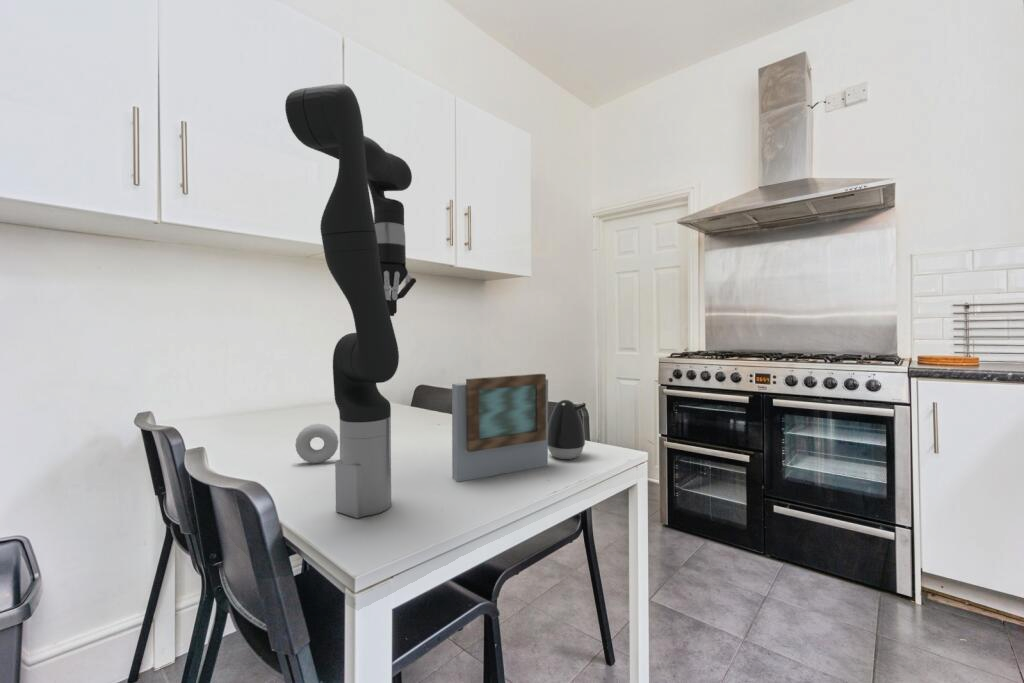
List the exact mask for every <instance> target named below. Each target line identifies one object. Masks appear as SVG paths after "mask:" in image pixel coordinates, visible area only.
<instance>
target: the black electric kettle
mask: <svg viewBox="0 0 1024 683" xmlns="http://www.w3.org/2000/svg"><path fill="white" fill-rule="evenodd" d="M586 406H587V404H586V403H585V402H583V403H579V404H575V403H574V402H573V401H571V400H569V399H562V400H560V401H558V402H557V403H556V404H555V406H554V408H553V411H552V412H551V415H550V417H549V420H548V451H549V453H550V454H551V456H554V458H557V459H559V460H564V459H569V460H574V459H576V458H578V457H579V456H580V455H581V454H582V452H583V449H584V446H585V445H586V438H585V437H586V436H585V431H584V429H585V428H584V424H583V421H582V418H581V415H580V412H579V410H582V409H583V408H585V407H586ZM573 458H574V459H573Z"/></svg>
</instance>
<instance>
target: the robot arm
mask: <svg viewBox="0 0 1024 683" xmlns="http://www.w3.org/2000/svg"><path fill="white" fill-rule="evenodd" d="M284 104H285V106H284V108H285V115H286V120H287V123H288V125H289V127H290V129H291V132H292V134H294V136H295V137H296V139H297V140H298V141H299V142H301V143H302V145H304V146H305V147H308V148H310V149H312V150H314V151H317V152H320V153H323V154H325V155H327V156H328V157H332V158H335V159H337V160H338V172H337V177H336V179H335V184H334V186H333V189H332V191H331V193H330V195H329V198H328V200H327V203H326V205H325V206H324V210H323V213H322V216H321V220H320V226H319V227H320V229H319V230H320V235H321V241H322V247H323V253H324V259H325V261H326V264H327V268H328V270H329V272H330V275H331V276H332V278H333V279H334V281H335V283H336V284H337V286H338V287H339V289H340V290H341V292H342V293H343V295H344V297H345V299H346V300H347V302H348V304H349V306H350V309H351V313H352V316H353V317H352V318H353V320H354V321H353V323H354V326H355V332H352V333H348V334H344V335H343V336H342V337H340V339H339V340H338V341H337V343H336V344H335V346H334V350H333V353H332V354H333V355H332V377H333V379H332V380H333V391H334V400H335V405H336V407H337V409H338V412H339V459H337V460H336V461H335V463H334V464H335V465H334V466H335V468H334V469H335V470H334V471H335V473H334V474H335V476H334V477H335V512H336V513H340V514H343V515H346V516H349V517H352V518H355V519H360V518H362V517H367V516H374V515H376V514H380V513H383V512H384V511H386V510H388V509H389V508H390V507H391V506H392V439H391V438H392V429H391V428H392V417H391V415H392V414H391V413H392V407H391V403H390V401H389V400H388V399H387V398H386V397H385V396H384V395H382V394H381V392H380V390H379V389H378V387H377V384H382V383H385V382H388V381H390V380H391V379H392V378H393V377H394V376H395V374H396V373H397V371H398V368H399V364H400V363H399V362H400V360H399V359H400V352H399V346H398V342H397V338H396V334H395V330H394V326H393V322H392V318H391V317H394V316H395V314H397V311H398V309H397V308H398V307H397V306H398V304H397V301H398V300H400V299H404V298H405V296H406V295H407V294H408V293H409V291H410V290H411V289H412V287H413V286H415V284H416V283H417V279H416V278H414V277H412V276H411V275H410V274H409V271H408V269H407V267H406V266H407V264H406V263H407V262H406V255H407V254H406V232H405V231H406V230H405V206H404V204H403V203H402V201H400V200H397V199H394V198H393V199H392V198H388V197H386V194H385V192H400V191H401V192H404V191H405V190H407V189H408V188H409V187H410V186H411V184H412V182H413V181H412V180H413V175H412V171H411V168H410V166H409V164H408V163H407V162H406V161H405V160H404V159H403V158H401V157H399V156H397V155H395V154H393V153H390V152H387V151H386V150H385V149H384V148H382V146H381V145H380V144H379V143H377V142H376V141H375V140H374V139H372V138H370V137H367V136H366V135H365V134H364V124H363V119H362V118H363V117H362V116H363V115H362V111H361V107H360V104H359V102H358V98H357V96H356V94H355V92H354V91H353V89H352V88H351V87H350V86H349V85H346V84H343V83H334V84H327V85H326V84H325V85H319V86H311V87H305V88H304V87H302V88H298V89H295V90H293V91H292V92H290V93H289V94H288V95H287V96H286V100H285V103H284ZM370 195H371V197H370ZM371 200H372V202H371ZM372 206H373V208H372ZM403 281H404V286H403V287H402V288H401V289H400V291H399V286H400V285H401V284H402V283H403Z"/></svg>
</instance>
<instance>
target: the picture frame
mask: <svg viewBox="0 0 1024 683" xmlns="http://www.w3.org/2000/svg"><path fill="white" fill-rule="evenodd" d="M546 377H547V375H546V373H533V374H532V373H531V374H520V375H515V374H514V375H504V376H502V375H501V376H488V377H487V376H486V377H478V378H477V377H476V378H475V377H474V378H472V377H471V378H466V379H465V383H466V418H467V451H469V452H474V451H480V450H486V449H493V448H499V447H505V446H512V445H518V444H525V443H531V442H537V441H544V440H546V379H547V378H546Z"/></svg>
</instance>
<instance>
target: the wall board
mask: <svg viewBox="0 0 1024 683" xmlns="http://www.w3.org/2000/svg"><path fill="white" fill-rule="evenodd" d="M451 386H452V387H451V392H452V393H451V395H452V396H451V399H452V400H451V405H452V406H451V410H452V411H451V414H452V415H451V419H452V420H451V426H452V429H451V432H452V433H451V434H452V435H451V448H452V449H451V452H452V453H451V454H452V455H451V456H452V463H451V464H452V465H451V467H452V468H451V471H452V474H451V475H452V477H451V478H452V479H453V480H454V481H455V482H464V481H469V480H475V479H481V478H485V477H486V478H487V477H492V476H498V475H503V474H508V473H515V472H520V471H525V470H533V469H537V468H541V467H542V466H543V467H547V465H548V464H549V463H548V461H549V460H548V459H549V456H548V454H549V453H548V451H549V449H548V424H549V379H547V378H546V440H544V441H537V442H531V443H525V444H518V445H512V446H505V447H499V448H493V449H486V450H480V451H474V452H469V451H467V418H466V382H463V383H452V385H451ZM548 466H549V465H548Z"/></svg>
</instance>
